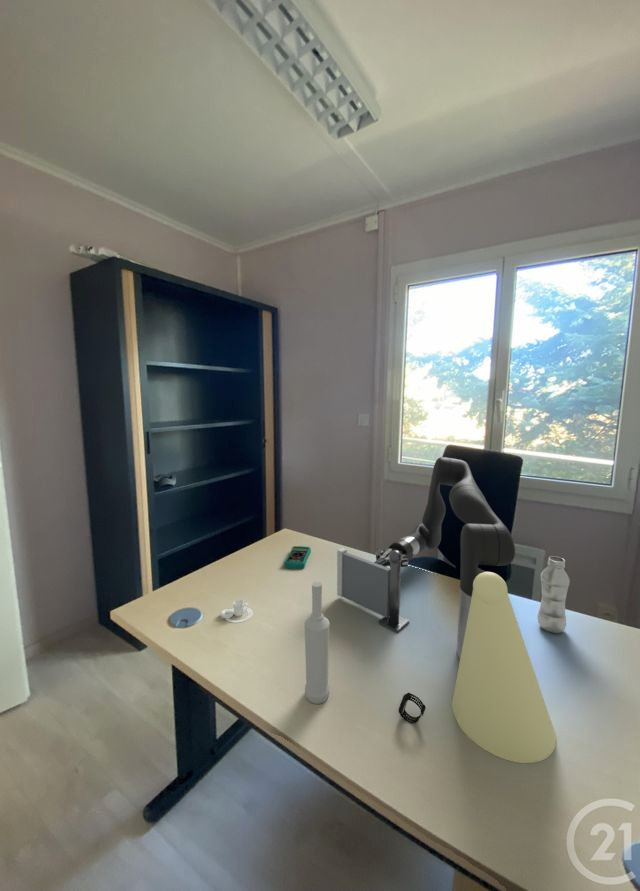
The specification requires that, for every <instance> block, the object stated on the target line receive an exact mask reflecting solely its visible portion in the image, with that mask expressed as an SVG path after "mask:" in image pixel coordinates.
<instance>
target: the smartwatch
mask: <svg viewBox="0 0 640 891" xmlns="http://www.w3.org/2000/svg"><path fill="white" fill-rule="evenodd" d="M409 701H410V702H413V703H414V704H415V705H416V706H417V707H418V708H419V709H420V714H419V715H418V716H412V715H410V714H409V713H408V712H407V711H406V707H407V704H408V702H409ZM425 711H426V704H424V703H423V701H422V700H421V699H420V698H419V697H418V696H417V695H415V694H412V693H411V692H407V693H404V694H403V696H402V698H401V701H400V704H399V706H398V714H399V716H400V717H401V718H402V719H403V720H404V721H406V722H407V723H410V724H413V725H414V724H416V723H418V722H419V720H420V719H422V717H423V716H424V713H425Z"/></svg>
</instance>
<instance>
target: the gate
mask: <svg viewBox="0 0 640 891" xmlns="http://www.w3.org/2000/svg"><path fill="white" fill-rule="evenodd" d="M336 553H337V555H336V556H337V557H336V558H337V559H336V560H337V562H336V565H337V569H336V571H337V573H336V575H337V576H336V579H337V582H336V586H337V587H336V595H337V596H338V597H341V598H344V599H347V600H349V601H351V602H353V603H355V604H357V605H359V606H361V607H362V608H365V609H368V610H370V611H372V612H373V613H376V614H378V615H379V616H381V617H383V618H384V617H386V618H388V617H389V598H390V567H385V566H382V565H379V564H376V563H374V562H375V561H371V560H368V559H366V558H362V557H360V556H357V555H354V554H352V553H348V549H347V548H344V547H340V548H338V549H337V552H336Z"/></svg>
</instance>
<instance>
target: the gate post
mask: <svg viewBox="0 0 640 891" xmlns="http://www.w3.org/2000/svg"><path fill="white" fill-rule="evenodd" d="M389 559H390V566H389V568H390V598H389V617H388V618H386V617H384V616H383V617H382V618H380V620H379V621H378V625H381V626H382V627H385V628H386V629H388V630H391V631H392V632H394V633H397V634H399V633H400V632H401V631H402V630H403V629H404V628H405V627H407V626H408V625H409V624H410V620H409V619H407V618H406V617H403V616H400V609H401V608H400V606H401V603H400V602H401V601H400V600H401V573H402V572H401V568H402V567H401V561H402V554H401V552H399V551H398V550H393V551H391V552H390V554H389Z"/></svg>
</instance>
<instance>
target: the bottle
mask: <svg viewBox="0 0 640 891" xmlns="http://www.w3.org/2000/svg"><path fill="white" fill-rule="evenodd" d="M311 593H312V594H311V597H312V598H311V600H312V602H311V603H312V604H311V606H312V610H311V611H312V612H311V614H310V616H309V617H307V618H306V619H305V621H304V645H305V646H304V650H305V678H306V679H305V685H304V686H305V688H304V691H305V692H304V693H305V697H306V699H307V700H308V701H309V702H310V703H312V704H314V705H319V704H323V703H325V702H327V700H328V698H329V697H330V685H329V666H330V664H329V661H330V660H329V658H330V621H329V619H328V618H327V617H325V616H324V613H323V583H322V582H320V581H314V582H312V583H311Z"/></svg>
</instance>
